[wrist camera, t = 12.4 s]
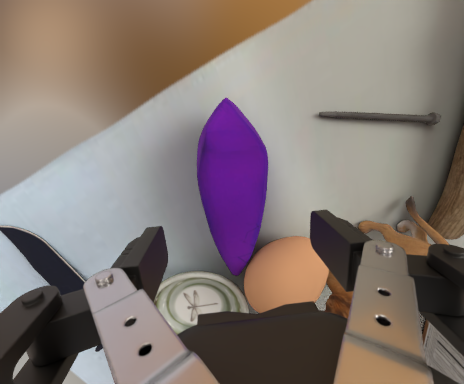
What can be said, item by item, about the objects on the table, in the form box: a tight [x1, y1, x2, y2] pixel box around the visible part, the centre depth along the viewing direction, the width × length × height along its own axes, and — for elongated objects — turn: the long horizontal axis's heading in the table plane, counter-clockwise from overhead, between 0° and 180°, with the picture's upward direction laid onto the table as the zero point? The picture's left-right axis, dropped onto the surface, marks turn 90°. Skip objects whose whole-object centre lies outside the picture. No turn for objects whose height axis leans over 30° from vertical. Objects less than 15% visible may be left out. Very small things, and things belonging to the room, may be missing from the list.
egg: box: [244, 236, 329, 313], centre depth 19 cm, size 6×6×8 cm
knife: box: [0, 226, 103, 352], centre depth 22 cm, size 26×3×5 cm
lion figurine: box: [325, 196, 449, 319], centre depth 18 cm, size 15×5×9 cm, turn 146°
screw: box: [319, 112, 441, 125], centre depth 19 cm, size 10×1×1 cm
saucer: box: [154, 271, 249, 335], centre depth 22 cm, size 10×10×2 cm
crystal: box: [197, 98, 268, 276], centre depth 18 cm, size 5×5×15 cm
